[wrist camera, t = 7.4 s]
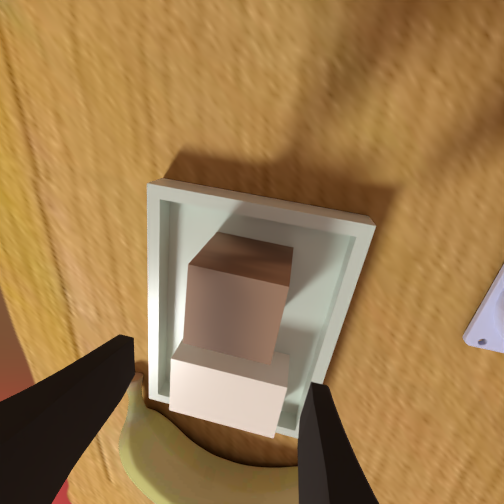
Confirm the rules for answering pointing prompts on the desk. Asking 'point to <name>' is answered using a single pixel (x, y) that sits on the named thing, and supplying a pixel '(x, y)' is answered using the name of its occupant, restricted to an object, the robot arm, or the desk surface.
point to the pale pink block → (228, 388)
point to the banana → (192, 464)
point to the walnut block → (237, 296)
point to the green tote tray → (264, 229)
